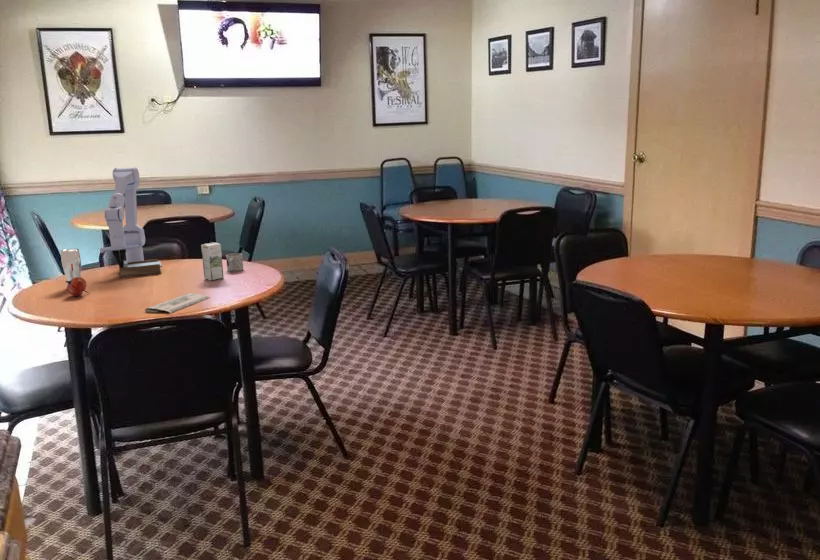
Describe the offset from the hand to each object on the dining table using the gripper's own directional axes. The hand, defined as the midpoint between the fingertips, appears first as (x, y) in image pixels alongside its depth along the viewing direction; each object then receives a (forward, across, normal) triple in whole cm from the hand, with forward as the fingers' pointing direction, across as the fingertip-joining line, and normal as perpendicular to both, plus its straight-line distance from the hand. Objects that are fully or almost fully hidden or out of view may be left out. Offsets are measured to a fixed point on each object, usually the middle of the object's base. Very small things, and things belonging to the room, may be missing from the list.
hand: (121, 267), depth 303 cm
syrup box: (+3, +34, -31) cm, 46 cm away
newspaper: (+4, +16, -67) cm, 69 cm away
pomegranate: (+3, -16, -32) cm, 36 cm away
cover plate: (+1, +8, 0) cm, 9 cm away
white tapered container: (+3, -18, -15) cm, 24 cm away
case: (+3, +7, 0) cm, 8 cm away
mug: (+3, +44, -19) cm, 48 cm away
